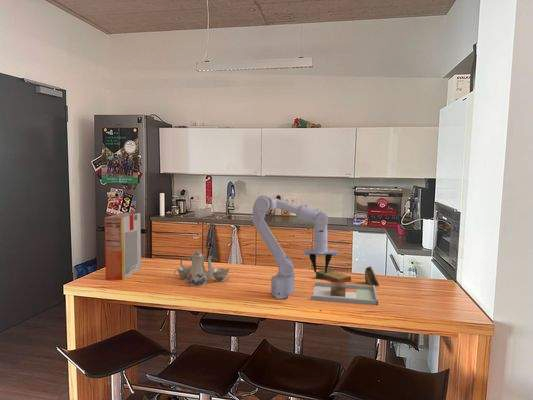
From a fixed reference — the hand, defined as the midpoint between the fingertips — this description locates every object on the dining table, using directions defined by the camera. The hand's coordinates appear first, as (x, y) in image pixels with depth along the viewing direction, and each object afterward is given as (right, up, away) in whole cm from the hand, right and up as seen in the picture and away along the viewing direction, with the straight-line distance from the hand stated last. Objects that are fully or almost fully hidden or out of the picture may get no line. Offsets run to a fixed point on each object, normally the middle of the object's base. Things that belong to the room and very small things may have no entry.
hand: (320, 271), depth 161 cm
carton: (+9, -9, +23) cm, 26 cm away
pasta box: (-96, -7, +33) cm, 101 cm away
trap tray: (+10, -11, -1) cm, 14 cm away
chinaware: (-55, -9, +20) cm, 59 cm away
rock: (+26, -10, +16) cm, 33 cm away
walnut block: (+7, -9, -1) cm, 12 cm away
